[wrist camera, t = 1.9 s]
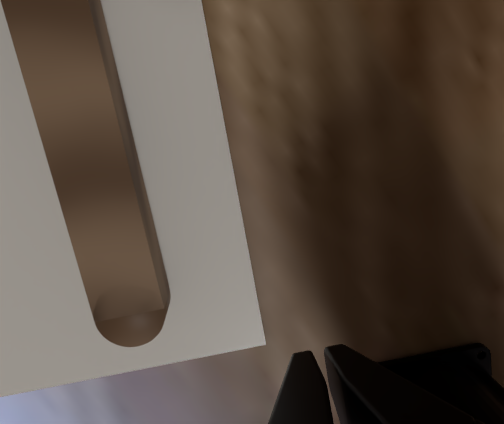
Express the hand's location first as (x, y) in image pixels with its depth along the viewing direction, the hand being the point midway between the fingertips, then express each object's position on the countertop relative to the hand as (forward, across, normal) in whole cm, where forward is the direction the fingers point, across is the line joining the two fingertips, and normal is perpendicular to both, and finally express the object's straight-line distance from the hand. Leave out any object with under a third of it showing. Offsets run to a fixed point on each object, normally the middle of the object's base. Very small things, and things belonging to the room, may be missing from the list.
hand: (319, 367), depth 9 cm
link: (+11, +6, -6) cm, 14 cm away
